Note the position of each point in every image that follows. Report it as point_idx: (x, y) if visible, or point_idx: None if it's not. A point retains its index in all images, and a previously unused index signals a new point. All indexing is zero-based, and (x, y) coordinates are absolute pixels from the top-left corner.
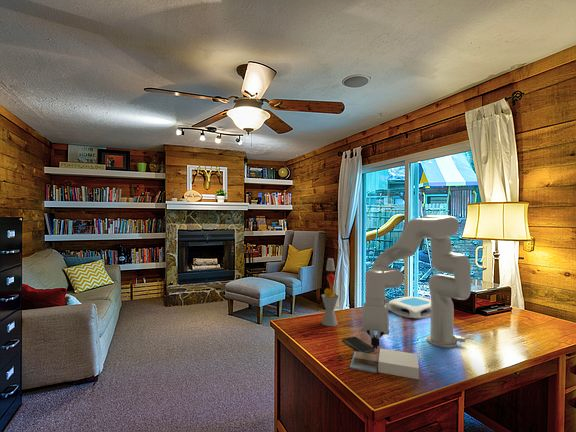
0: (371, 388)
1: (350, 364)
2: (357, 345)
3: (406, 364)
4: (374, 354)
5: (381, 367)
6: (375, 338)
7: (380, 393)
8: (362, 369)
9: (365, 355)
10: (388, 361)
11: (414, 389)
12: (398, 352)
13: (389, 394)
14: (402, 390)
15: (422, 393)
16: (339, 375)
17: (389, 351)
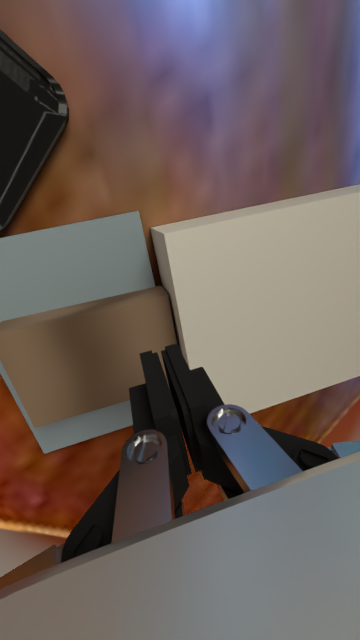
0: (190, 497)
1: (34, 433)
2: None
3: (338, 366)
4: (134, 304)
5: None
6: (195, 462)
7: (222, 498)
8: (113, 429)
9: (84, 357)
10: (251, 395)
11: (320, 413)
12: (304, 229)
13: None
14: None
15: (340, 417)
16: (42, 515)
17: (242, 252)
